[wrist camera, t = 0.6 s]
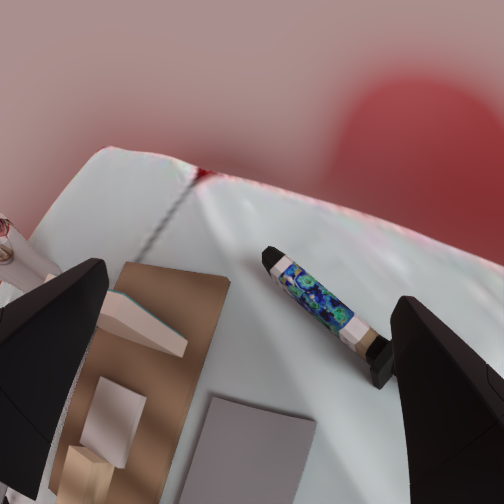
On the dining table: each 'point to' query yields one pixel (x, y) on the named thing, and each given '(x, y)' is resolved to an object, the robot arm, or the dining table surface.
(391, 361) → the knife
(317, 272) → the dining table surface
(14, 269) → the beer glass
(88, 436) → the two-tone block
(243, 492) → the slate rest
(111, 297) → the tile
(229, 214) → the dining table surface
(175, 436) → the walnut board
